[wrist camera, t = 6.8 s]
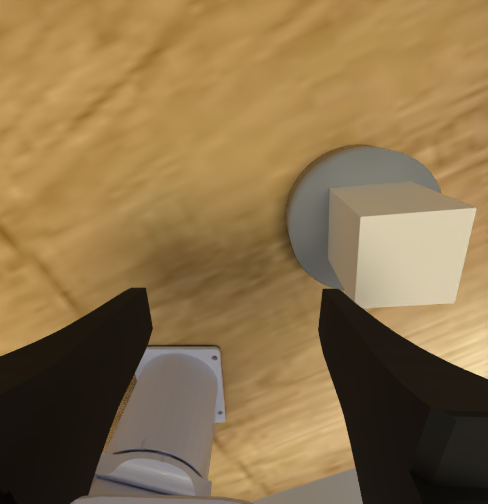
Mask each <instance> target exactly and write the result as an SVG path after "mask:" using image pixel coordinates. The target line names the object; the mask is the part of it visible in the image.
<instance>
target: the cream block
mask: <svg viewBox="0 0 488 504" xmlns="http://www.w3.org/2000/svg"><path fill="white" fill-rule="evenodd" d="M476 209H477V208H476V207H474V206H471V205H469V204H466V203H464V202H461V201H459V200H456V199H454V198H451V197H449V196H446V195H444V194H441V193H439V192H436V191H434V190H431V189H429V188H426V187H424V186H421V185H419V184H416V183H414V182H411V181H407V182H396V183H384V184H372V185H361V186H349V187H337V188H330V189H329V232H328V260H329V262H330V264H331V265H332V267H333V269H334V271H335V273H336V275H337V277H338V279H339V281H340V283H341V284H342V286H343V288H344V290H345V292H346V294H347V296H348V297H349V298H350V299H352V300H353V301H354V302H355V303H356V304H358V305H359V306H360V307H361V308H378V307H395V306H412V305H429V304H446V303H455V299H456V295H457V290H458V286H459V282H460V277H461V273H462V269H463V265H464V260H465V256H466V252H467V247H468V243H469V239H470V234H471V230H472V226H473V221H474V217H475V213H476Z"/></svg>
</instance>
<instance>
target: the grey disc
mask: <svg viewBox="0 0 488 504" xmlns="http://www.w3.org/2000/svg"><path fill="white" fill-rule="evenodd" d="M407 181H411V182H414V183H416V184H419V185H421V186H424V187H426V188H429V189H431V190H434V191H436V192H439V193H441V190H440V188H439V185H438V183H437V181H436V179H435V178H434V176H433V175H432V173H431V172H430V171H429V170H428V169H427V168H426V167H425V166H424V165H423V164H421V163H420V162H419V161H417V160H416V159H414V158H412V157H410V156H408V155H406V154H403V153H400V152H396V151H392V150H388V149H384V148H380V147H375V146H370V145H348V146H344V147H340V148H337V149H334V150H331V151H329V152H327V153H325V154H323V155H321V156H320V157H318V158H317V159H316V160H314V161H313V162H312V163H311V164H309V165H308V166H307V167H306V168H305V169H304V170H303V172H302V173H301V174H300V175H299V177H298V178H297V180H296V181H295V183H294V185H293V187H292V189H291V191H290V194H289V196H288V200H287V204H286V213H285V215H286V225H287V230H288V234H289V237H290V241H291V244H292V248H293V251H294V254H295V256H296V258H297V260H298V262H299V263H300V265H301V266H302V267H303V269H304V270H305V271H306V272H307V273H308V274H309V275H310V276H311V277H313V278H314V279H315V280H317V281H319V282H320V283H322V284H324V285H326V286H329V287H331V288H335V289H339V290H344V288H343V286H342V284H341V283H340V281H339V279H338V277H337V275H336V273H335V271H334V269H333V267H332V265H331V264H330V262H329V260H328V232H329V189H330V188H337V187H349V186H361V185H372V184H384V183H396V182H407Z"/></svg>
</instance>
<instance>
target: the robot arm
mask: <svg viewBox="0 0 488 504" xmlns="http://www.w3.org/2000/svg"><path fill="white" fill-rule="evenodd" d="M152 329H153V327H152V321H151V315H150V309H149V303H148V298H147V292H146V288H130V289H128V290H126V291H124V292H123V293H121V294H119V295H118V296H116V297H114V298H113V299H111V300H110V301H108V302H107V303H105V304H103V305H102V306H100V307H99V308H97V309H95V310H94V311H92V312H91V313H89V314H87V315H85V316H84V317H82V318H80V319H78V320H77V321H75V322H73V323H72V324H70V325H68V326H66V327H64V328H63V329H61V330H59V331H57V332H55V333H53V334H51V335H49V336H47V337H45V338H43V339H41V340H38V341H36V342H34V343H32V344H29V345H27V346H25V347H22V348H20V349H17V350H15V351H13V352H10V353H8V354H5V355H3V356H0V504H252V503H250V502H249V501H244V500H238V499H233V498H227V497H211V496H210V494H211V486H212V482H211V481H209V480H208V474H209V466H210V459H211V451H212V443H213V436H214V428H215V423H223V422H225V420H226V412H225V401H224V389H223V377H222V366H221V354H220V349H219V348H218V347H147V345H148V342H149V339H150V336H151V333H152ZM318 331H319V337H320V342H321V347H322V351H323V355H324V358H325V361H326V364H327V367H328V370H329V372H330V375H331V378H332V381H333V384H334V387H335V390H336V393H337V396H338V398H339V401H340V404H341V408H342V411H343V414H344V418H345V423H346V427H347V431H348V435H349V440H350V444H351V448H352V453H353V458H354V462H355V467H356V471H357V476H358V481H359V486H360V491H361V496H362V501H363V504H488V379H486V378H483V377H481V376H479V375H476V374H474V373H472V372H469V371H467V370H464V369H462V368H460V367H458V366H456V365H453V364H451V363H449V362H447V361H445V360H443V359H441V358H439V357H437V356H435V355H433V354H431V353H429V352H427V351H426V350H424V349H422V348H420V347H418V346H417V345H415V344H413V343H412V342H410V341H408V340H407V339H405V338H403V337H402V336H400V335H398V334H397V333H395V332H394V331H392V330H391V329H390V328H388V327H387V326H385V325H384V324H382V323H381V322H380V321H378V320H377V319H375V318H374V317H373V316H372V315H370V314H369V313H368V312H366V311H365V310H364V309H363V308H361V307H360V306H359V305H358V304H356V303H355V302H354V301H353V300H352V299H350V298H349V297H348V296H347V295H346V294H344V293H343V292H342V291H340V290H339V289H323V292H322V301H321V310H320V319H319V328H318ZM213 356H216V357H213ZM134 374H135V375H136V379H137V383H136V385H135V387H134V389H133V392H132V394H131V396H130V398H129V401H128V403H127V405H126V407H125V410H124V412H123V414H122V416H121V418H120V421H119V423H118V425H117V427H116V430H115V432H114V434H113V436H112V439H111V441H110V443H109V445H108V447H107V450H106V452H105V453H102V451H103V448H104V445H105V442H106V439H107V436H108V434H109V431H110V428H111V426H112V423H113V420H114V417H115V415H116V412H117V410H118V407H119V405H120V403H121V400H122V398H123V396H124V394H125V392H126V390H127V388H128V386H129V384H130V382H131V380H132V378H133V376H134Z"/></svg>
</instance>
